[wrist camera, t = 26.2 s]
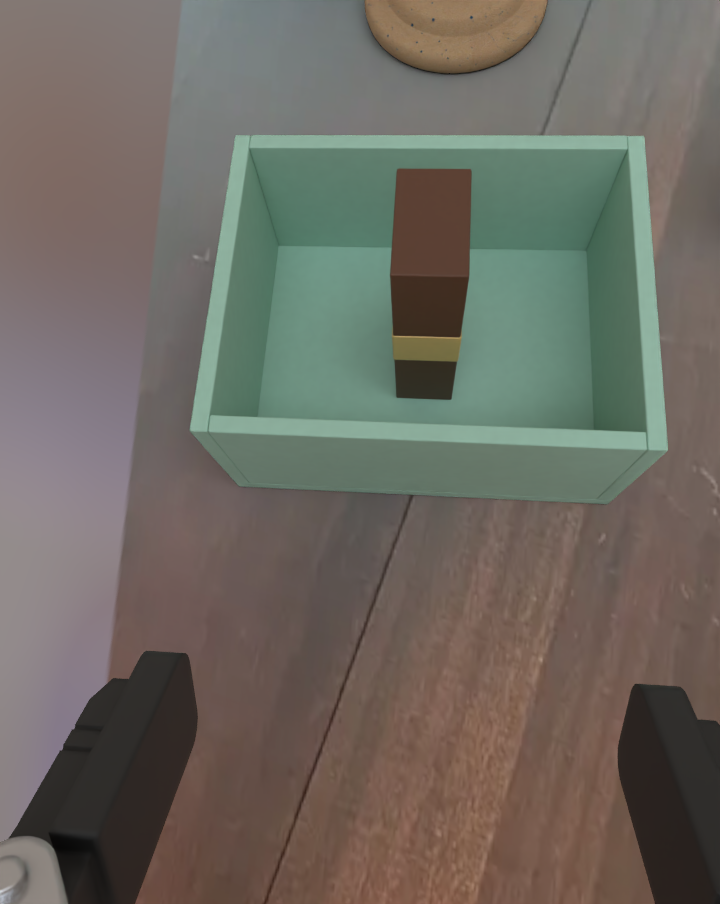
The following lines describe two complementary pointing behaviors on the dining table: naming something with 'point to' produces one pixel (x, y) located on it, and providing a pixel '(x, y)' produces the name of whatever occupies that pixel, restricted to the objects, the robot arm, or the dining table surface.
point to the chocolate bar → (429, 278)
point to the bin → (483, 330)
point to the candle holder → (454, 31)
